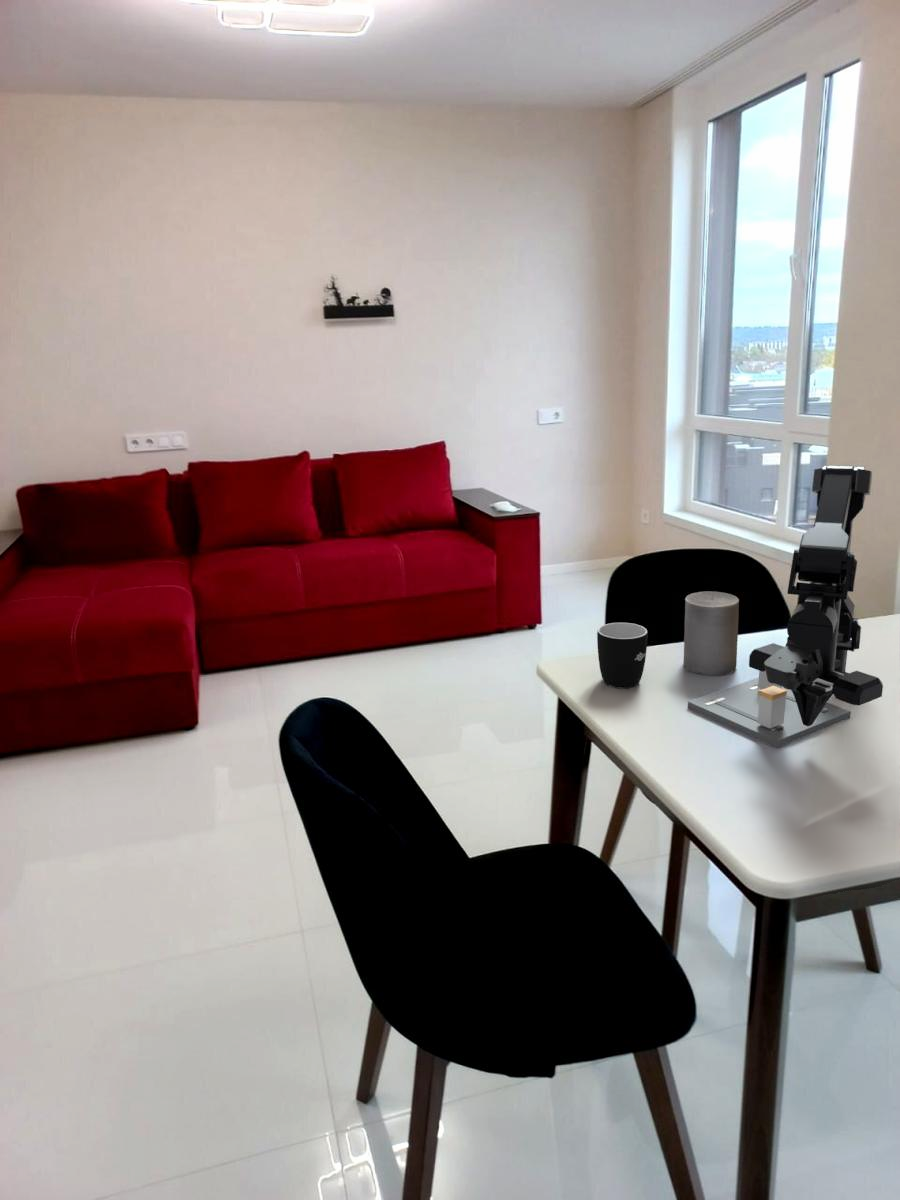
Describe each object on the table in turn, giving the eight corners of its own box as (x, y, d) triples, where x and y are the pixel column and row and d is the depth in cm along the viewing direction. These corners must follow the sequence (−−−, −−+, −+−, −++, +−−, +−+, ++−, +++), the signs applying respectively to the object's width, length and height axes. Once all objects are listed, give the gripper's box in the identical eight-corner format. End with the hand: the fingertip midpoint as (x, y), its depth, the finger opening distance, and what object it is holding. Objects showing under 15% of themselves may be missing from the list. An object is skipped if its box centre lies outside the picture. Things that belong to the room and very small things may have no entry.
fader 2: (770, 717, 131) (773, 685, 129) (784, 723, 128) (786, 690, 127) (756, 723, 129) (759, 690, 127) (770, 728, 127) (772, 695, 125)
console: (759, 683, 148) (759, 676, 147) (850, 718, 133) (851, 710, 132) (687, 707, 139) (688, 700, 139) (776, 748, 124) (776, 740, 124)
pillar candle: (721, 655, 162) (724, 582, 157) (745, 673, 152) (749, 596, 148) (674, 660, 160) (676, 587, 156) (695, 678, 151) (698, 601, 147)
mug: (638, 694, 145) (639, 641, 142) (590, 687, 149) (590, 635, 147) (655, 670, 155) (657, 620, 152) (610, 664, 160) (610, 615, 157)
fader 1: (770, 683, 143) (772, 654, 142) (782, 688, 141) (784, 658, 140) (757, 688, 142) (759, 658, 140) (769, 693, 140) (771, 662, 138)
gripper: (726, 622, 122) (721, 717, 127) (839, 658, 107) (828, 764, 111) (776, 607, 127) (769, 699, 132) (890, 640, 112) (878, 742, 116)
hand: (807, 725), depth 123 cm, fingers closed
